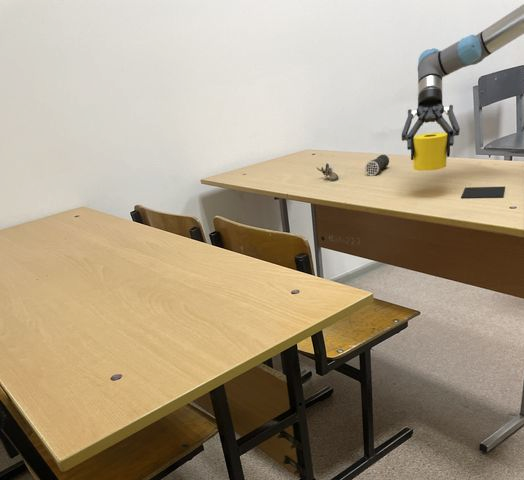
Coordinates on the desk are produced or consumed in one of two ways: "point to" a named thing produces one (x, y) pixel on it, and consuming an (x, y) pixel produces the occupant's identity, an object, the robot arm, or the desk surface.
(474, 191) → the edge mat
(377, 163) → the flashlight
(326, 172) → the eagle figurine
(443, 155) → the tape roll
